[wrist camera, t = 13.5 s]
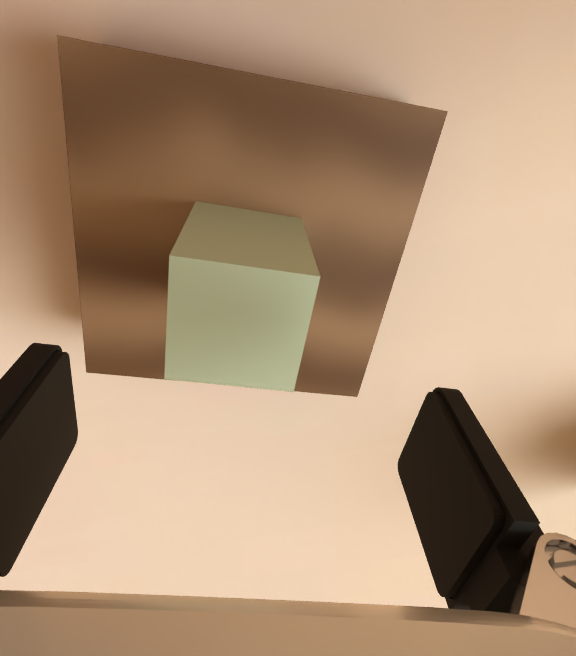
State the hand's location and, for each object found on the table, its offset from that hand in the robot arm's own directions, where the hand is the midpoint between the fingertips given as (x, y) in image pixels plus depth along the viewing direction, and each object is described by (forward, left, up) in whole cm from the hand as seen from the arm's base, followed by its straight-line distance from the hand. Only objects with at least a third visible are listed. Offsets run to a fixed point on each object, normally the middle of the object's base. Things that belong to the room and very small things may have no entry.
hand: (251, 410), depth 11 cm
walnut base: (0, 0, -17) cm, 17 cm away
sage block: (0, 0, -12) cm, 12 cm away
